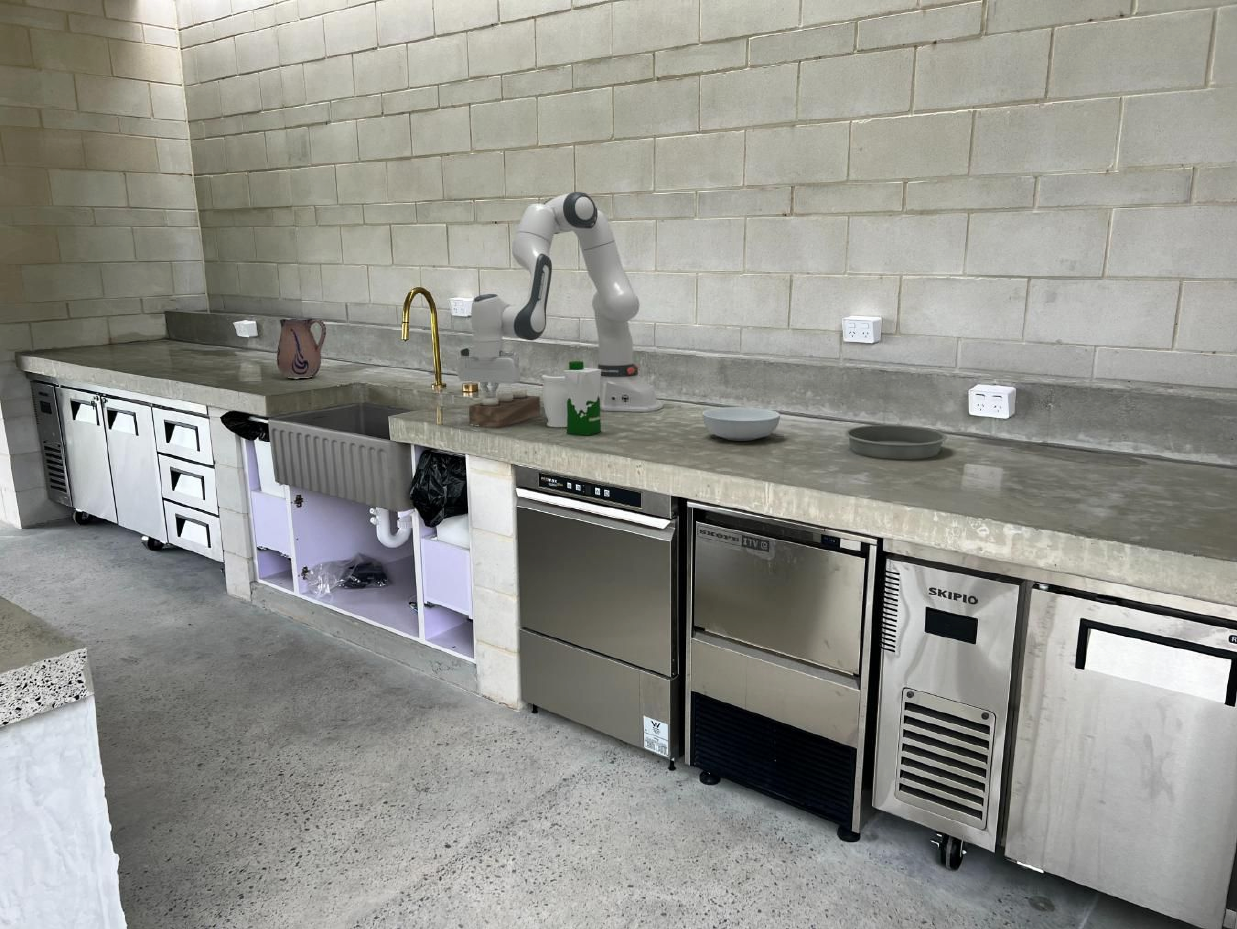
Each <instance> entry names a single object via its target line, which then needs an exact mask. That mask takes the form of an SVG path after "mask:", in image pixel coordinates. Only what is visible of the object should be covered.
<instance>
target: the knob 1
mask: <svg viewBox="0 0 1237 929" xmlns="http://www.w3.org/2000/svg"><path fill="white" fill-rule="evenodd" d="M481 399H482V400H481V403H482V405H484V406H490V407H494V406H497V405H498V404H499V401H498V397H497V396H496V397H494V398H489V397H484V396H482V398H481Z"/></svg>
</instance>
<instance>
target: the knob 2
mask: <svg viewBox="0 0 1237 929" xmlns="http://www.w3.org/2000/svg"><path fill="white" fill-rule="evenodd" d="M527 390H528V389H520V388H518V389H511V390H510V391H511V392H510V393H513V398H514V399H524V398H525V397H527V396H528V391H527Z"/></svg>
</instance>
